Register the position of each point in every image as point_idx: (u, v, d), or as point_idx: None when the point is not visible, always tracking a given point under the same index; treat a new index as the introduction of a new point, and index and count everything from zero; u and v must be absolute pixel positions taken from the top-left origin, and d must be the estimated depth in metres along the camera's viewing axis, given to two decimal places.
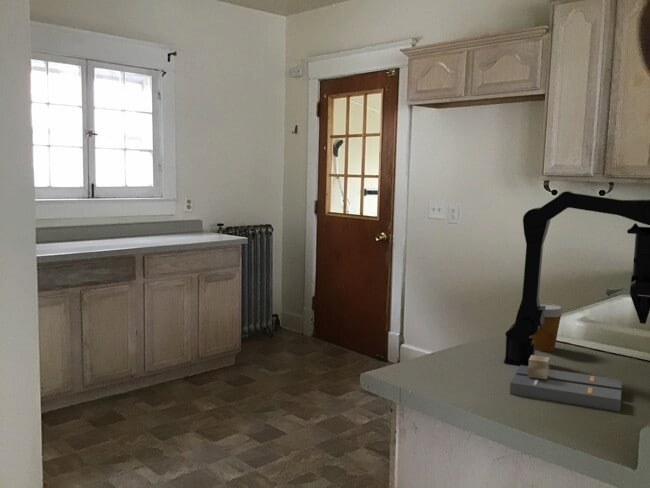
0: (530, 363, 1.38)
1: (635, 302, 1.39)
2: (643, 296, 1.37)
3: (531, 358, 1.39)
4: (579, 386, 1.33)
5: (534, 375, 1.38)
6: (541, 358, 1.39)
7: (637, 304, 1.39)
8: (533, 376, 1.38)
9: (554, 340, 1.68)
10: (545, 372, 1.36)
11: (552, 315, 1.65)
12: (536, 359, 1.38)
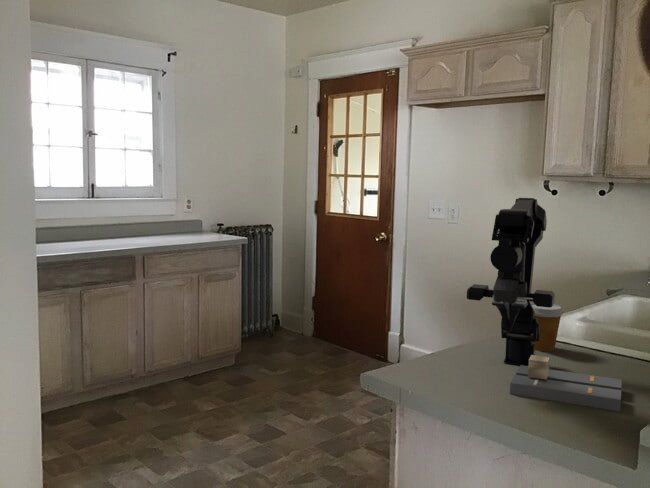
0: (530, 363, 1.38)
1: None
2: None
3: (531, 358, 1.39)
4: (579, 386, 1.33)
5: (534, 375, 1.38)
6: (541, 358, 1.39)
7: None
8: (533, 376, 1.38)
9: (554, 340, 1.68)
10: (545, 372, 1.36)
11: (552, 315, 1.65)
12: (536, 359, 1.38)
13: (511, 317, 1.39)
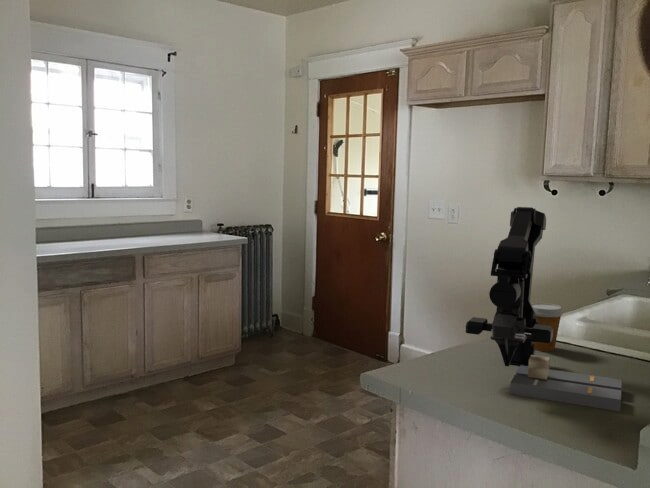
0: (530, 363, 1.38)
1: None
2: None
3: (531, 358, 1.39)
4: (579, 386, 1.33)
5: (534, 375, 1.38)
6: (541, 358, 1.39)
7: None
8: (533, 376, 1.38)
9: (554, 340, 1.68)
10: (545, 372, 1.36)
11: (552, 315, 1.65)
12: (536, 359, 1.38)
13: (510, 351, 1.40)
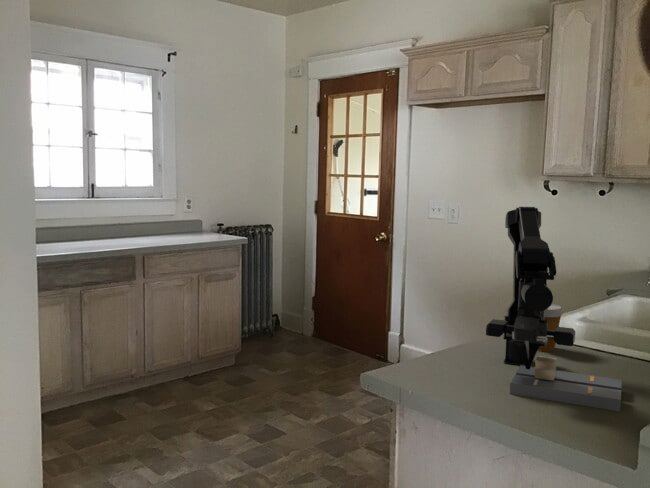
0: (537, 364, 1.37)
1: None
2: None
3: (538, 359, 1.38)
4: (579, 386, 1.33)
5: (541, 376, 1.37)
6: (548, 359, 1.38)
7: None
8: (540, 377, 1.37)
9: None
10: (552, 373, 1.36)
11: (552, 315, 1.65)
12: (543, 360, 1.38)
13: (531, 354, 1.38)
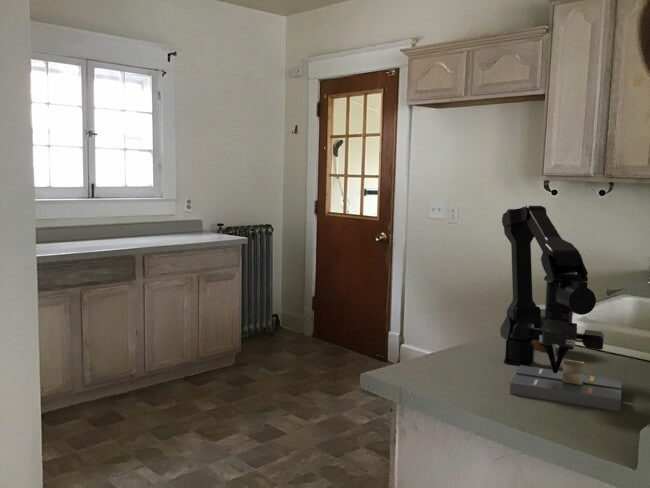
0: (565, 368, 1.35)
1: None
2: None
3: (565, 363, 1.36)
4: (579, 386, 1.33)
5: (569, 380, 1.34)
6: (576, 363, 1.35)
7: None
8: (568, 381, 1.35)
9: None
10: (580, 377, 1.33)
11: None
12: (571, 364, 1.35)
13: (559, 358, 1.36)
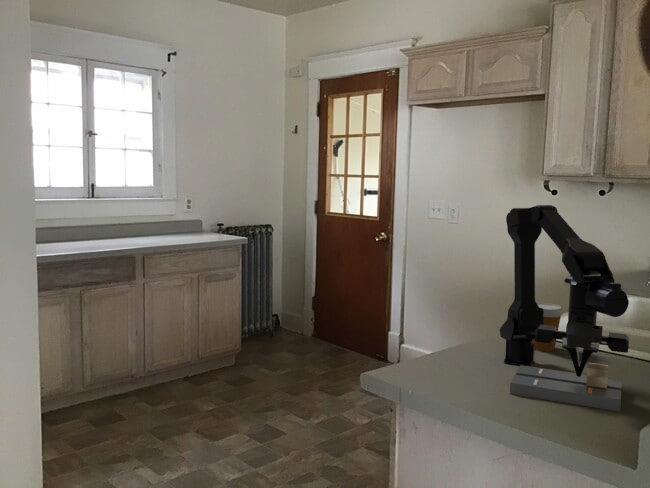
0: (589, 371, 1.32)
1: None
2: None
3: (589, 366, 1.33)
4: (579, 386, 1.33)
5: (593, 384, 1.32)
6: (600, 366, 1.33)
7: None
8: (592, 385, 1.32)
9: (554, 340, 1.68)
10: (605, 381, 1.31)
11: (552, 315, 1.65)
12: (595, 367, 1.33)
13: (582, 361, 1.34)
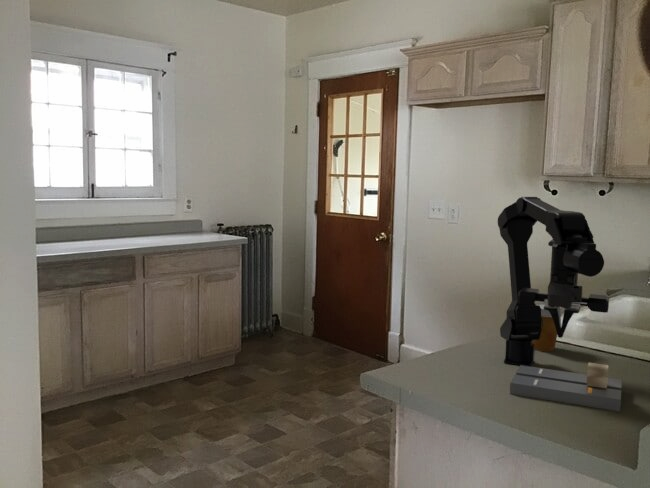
0: (589, 371, 1.32)
1: None
2: None
3: (589, 366, 1.33)
4: (579, 386, 1.33)
5: (593, 384, 1.32)
6: (600, 366, 1.33)
7: None
8: (592, 385, 1.32)
9: (554, 340, 1.68)
10: (605, 381, 1.31)
11: None
12: (595, 367, 1.33)
13: (564, 322, 1.36)
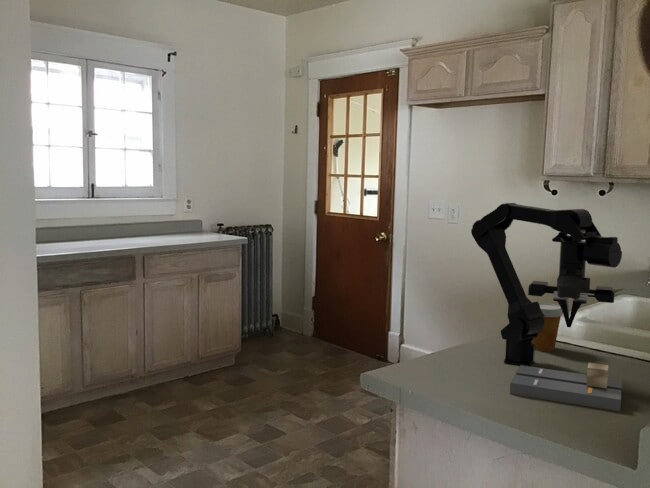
0: (589, 371, 1.32)
1: None
2: None
3: (589, 366, 1.33)
4: (579, 386, 1.33)
5: (593, 384, 1.32)
6: (600, 366, 1.33)
7: None
8: (592, 385, 1.32)
9: (554, 340, 1.68)
10: (605, 381, 1.31)
11: (552, 315, 1.65)
12: (595, 367, 1.33)
13: (572, 312, 1.45)
